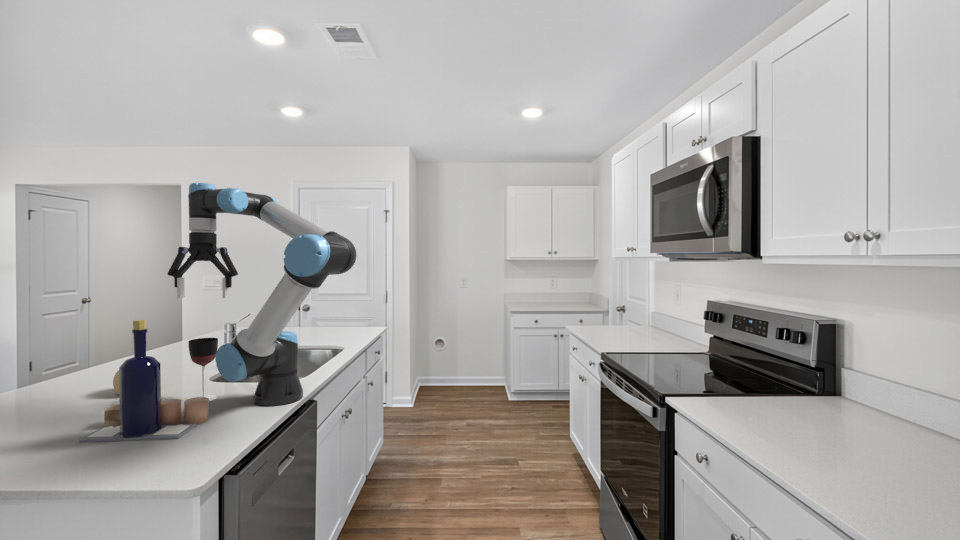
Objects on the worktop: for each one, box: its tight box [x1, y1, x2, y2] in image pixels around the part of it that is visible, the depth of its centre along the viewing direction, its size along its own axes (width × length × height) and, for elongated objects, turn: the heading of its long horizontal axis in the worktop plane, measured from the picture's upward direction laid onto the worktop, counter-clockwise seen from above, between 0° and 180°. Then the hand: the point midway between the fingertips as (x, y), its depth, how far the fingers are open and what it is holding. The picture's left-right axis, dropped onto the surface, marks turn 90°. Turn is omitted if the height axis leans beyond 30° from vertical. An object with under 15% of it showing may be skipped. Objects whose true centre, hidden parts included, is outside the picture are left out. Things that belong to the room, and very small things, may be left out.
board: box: [78, 423, 197, 443], centre depth 120 cm, size 24×9×1 cm, turn 96°
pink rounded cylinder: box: [161, 398, 182, 425], centre depth 128 cm, size 6×6×6 cm
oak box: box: [103, 403, 120, 427], centre depth 127 cm, size 5×5×5 cm
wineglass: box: [187, 337, 219, 402], centre depth 149 cm, size 8×9×20 cm
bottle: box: [118, 319, 162, 437], centre depth 119 cm, size 9×9×30 cm
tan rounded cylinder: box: [183, 396, 210, 425], centre depth 129 cm, size 6×6×6 cm
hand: (203, 298), depth 143 cm, fingers open, 13 cm apart
